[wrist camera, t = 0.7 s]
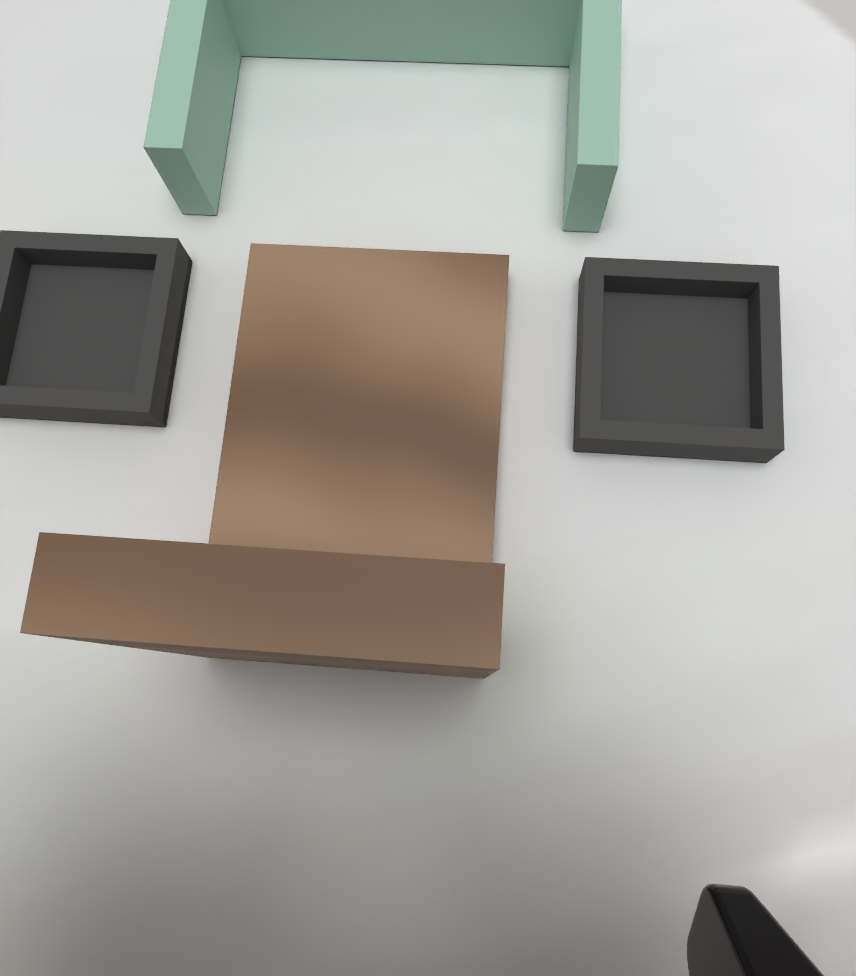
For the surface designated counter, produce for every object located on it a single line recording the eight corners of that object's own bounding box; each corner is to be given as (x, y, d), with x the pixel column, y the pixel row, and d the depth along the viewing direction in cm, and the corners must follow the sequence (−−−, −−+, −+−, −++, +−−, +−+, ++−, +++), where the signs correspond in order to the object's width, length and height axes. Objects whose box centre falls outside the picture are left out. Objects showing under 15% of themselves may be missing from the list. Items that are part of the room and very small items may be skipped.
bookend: (483, 678, 20) (498, 669, 11) (208, 657, 21) (20, 632, 12) (507, 277, 23) (533, 21, 14) (261, 265, 23) (140, 10, 15)
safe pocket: (598, 232, 23) (618, 165, 20) (182, 213, 24) (143, 146, 21) (604, 26, 25) (622, -63, 22) (215, 14, 25) (183, -73, 22)
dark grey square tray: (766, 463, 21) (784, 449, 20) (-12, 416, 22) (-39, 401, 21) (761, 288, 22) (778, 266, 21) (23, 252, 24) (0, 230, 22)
